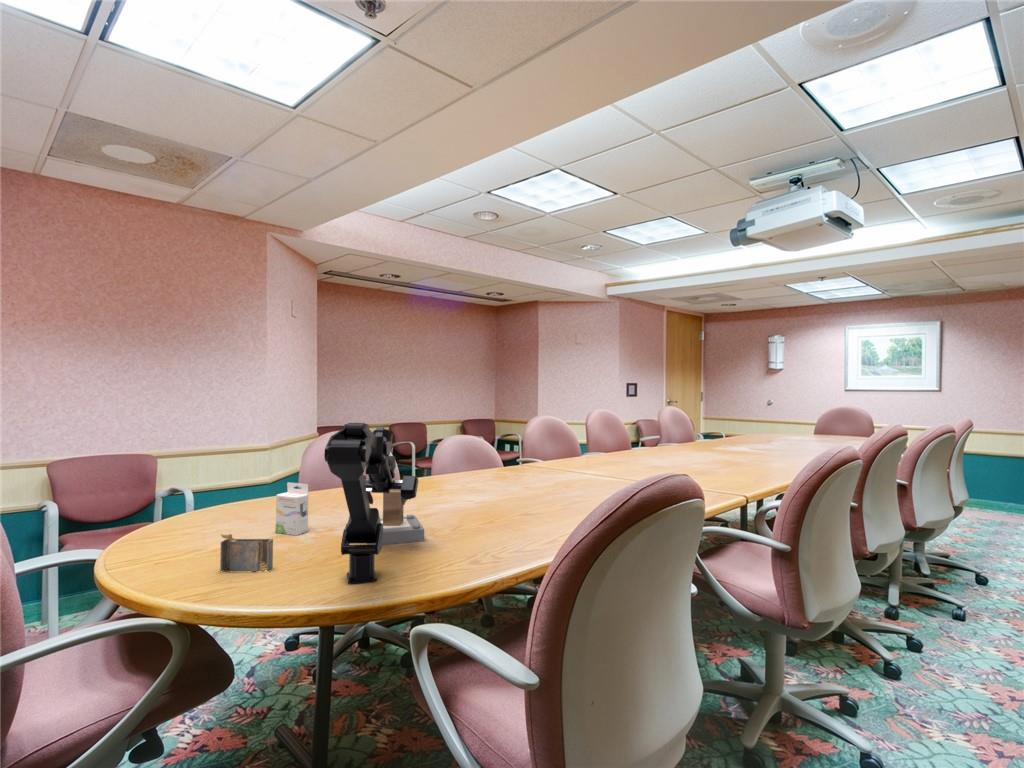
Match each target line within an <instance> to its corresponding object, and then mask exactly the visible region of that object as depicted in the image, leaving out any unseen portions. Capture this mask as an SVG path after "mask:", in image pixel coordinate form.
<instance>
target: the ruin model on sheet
mask: <svg viewBox="0 0 1024 768" xmlns="http://www.w3.org/2000/svg"><path fill="white" fill-rule="evenodd" d="M220 536H221V538H223V539H224V540H222V541H220V559H219V560H220V561H219V563H220V564H219V565H220V566H219V567H220V568H219V569H220V570H219V571H220V573H222V572H221V571H223V570H224V571H226V570H227V569H226V568H230V569H229V572H230V571H265V570H267V571H269V570H270V571H271V570H272V569H273V567H274V566H273V562H274V554H273V553H274V539H273V538H233V534H231V533H228V534H220ZM224 571H223V572H224ZM270 571H269V572H270Z"/></svg>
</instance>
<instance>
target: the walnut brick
mask: <svg viewBox="0 0 1024 768" xmlns="http://www.w3.org/2000/svg"><path fill="white" fill-rule="evenodd" d="M382 494H383V495H382V496H383V497H382V498H383V499H382V518H383V526H400V525H401V524H402V523H403V517H404V506H405V505H403V504H402V501H401V489H390V492H389V493H382Z"/></svg>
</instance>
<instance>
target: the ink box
mask: <svg viewBox="0 0 1024 768" xmlns="http://www.w3.org/2000/svg"><path fill="white" fill-rule="evenodd" d="M286 486H287V487H286V488H287V489H286V490H287V491H286V492H282V493H278V494H276V496H275V497H276V501H275V533H276V534H281V533H284V534H283V535H289V534H291V535H290V536H296V535H298V536H300V535H302V533H303V534H305V533H307V532H309V484H308V483H299V482H289V481H288V482H287V483H286ZM296 487H298V488H296ZM299 534H300V535H299Z"/></svg>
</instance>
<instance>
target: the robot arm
mask: <svg viewBox="0 0 1024 768" xmlns="http://www.w3.org/2000/svg"><path fill="white" fill-rule="evenodd" d="M343 425H344V426H343V427H342V428H341V429H340V430H339V431H337V432H335V433H334V434H332V435H331V436H330V438H329V439H328V441H327V443H326V445H325V448H324V461H325V463H327V466H328V468H329V471H330V473H331V474H333V475H334V476H336V477H337V478H338V479H340V481H341V485H342V489H343V494H344V498H345V502H346V507H347V509H348V514H349V516H348V520H347V523H346V524H345V527H344V529H343V531H342V536H341V537H342V538H341V542H340V553H341V555H342V556H343V555H349V557H348V558H349V560H348V562H349V563H348V564H349V566H348V567H349V569H348V572H346V581H347V584H348V585H351V584H360V583H368V582H376V581H378V577H377V572H376V570H375V555H376V556H377V555H379V554H380V552H381V551H382V548H383V545H382V540H383V524H382V523H381V521H380V519H381V516H380V512H379V509H378V508H377V507H371V506H370V505H373V504H374V497H373V495H372V493H374V494H375V493H376V494H383V493H389V492H390V489H401V501H402V504H403V505H404V506H405V504H406V502H407V501H408V500H411V499H415V498H416V497H417V492H418V486H419V478H418V476H416V475H403V477H402V480H394V479H395V475H396V474H395V469H396V467H397V466H396V465H397V464H396V456H394V455H390V454H391V450H392V447H393V437H394V435H393V433H392V432H391V431H390V430H388V429H385V426H376V429H374V430H373V431H372V430H371V429H370V425H369V424H368V423H365V422H348V423H344V424H343ZM364 473H365V474H364ZM367 475H368V480H367ZM367 543H376V545H367Z"/></svg>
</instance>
